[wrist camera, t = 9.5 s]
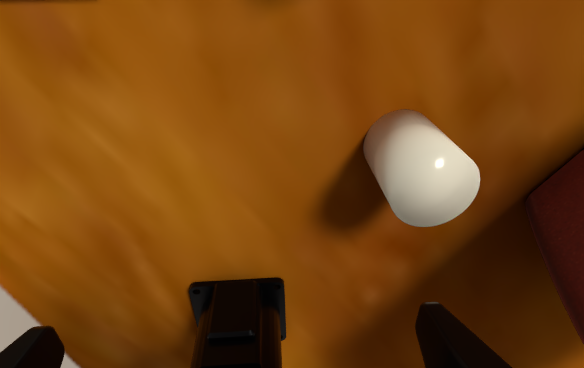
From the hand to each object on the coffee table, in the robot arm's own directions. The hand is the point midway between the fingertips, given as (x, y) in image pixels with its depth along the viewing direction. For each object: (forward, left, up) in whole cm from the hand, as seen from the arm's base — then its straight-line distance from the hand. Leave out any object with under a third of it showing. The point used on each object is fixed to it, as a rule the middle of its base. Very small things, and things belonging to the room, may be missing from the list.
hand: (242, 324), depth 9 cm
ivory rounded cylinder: (-1, -8, -12) cm, 14 cm away
